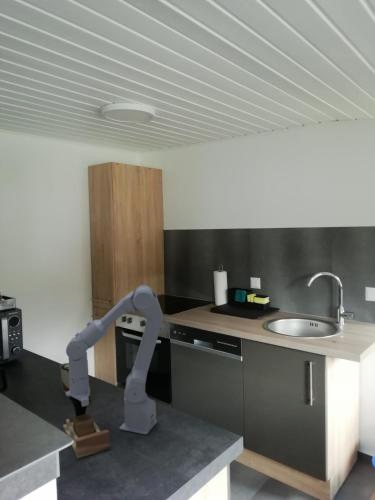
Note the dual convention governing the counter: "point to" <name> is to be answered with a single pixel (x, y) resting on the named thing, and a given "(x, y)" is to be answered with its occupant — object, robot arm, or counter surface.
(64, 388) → the food container
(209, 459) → the counter surface
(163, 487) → the counter surface
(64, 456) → the counter surface
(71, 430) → the track
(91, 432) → the block
